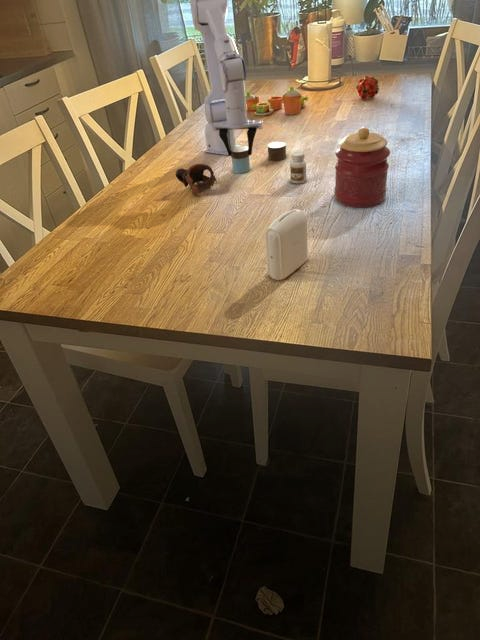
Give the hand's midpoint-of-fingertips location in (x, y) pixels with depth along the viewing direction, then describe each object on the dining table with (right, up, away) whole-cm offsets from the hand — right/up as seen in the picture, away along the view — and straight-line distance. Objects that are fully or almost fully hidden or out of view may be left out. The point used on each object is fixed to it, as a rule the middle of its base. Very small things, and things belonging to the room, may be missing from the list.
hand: (240, 154), depth 147 cm
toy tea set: (+14, +34, +50) cm, 62 cm away
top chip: (0, 0, 0) cm, 0 cm away
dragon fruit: (+51, +40, +53) cm, 84 cm away
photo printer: (+10, -39, -43) cm, 59 cm away
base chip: (+12, +2, +9) cm, 15 cm away
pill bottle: (+17, -10, -7) cm, 21 cm away
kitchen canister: (+31, -18, -19) cm, 41 cm away
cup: (0, -4, +3) cm, 5 cm away
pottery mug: (-12, -12, -6) cm, 18 cm away
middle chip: (+12, +3, +8) cm, 14 cm away
